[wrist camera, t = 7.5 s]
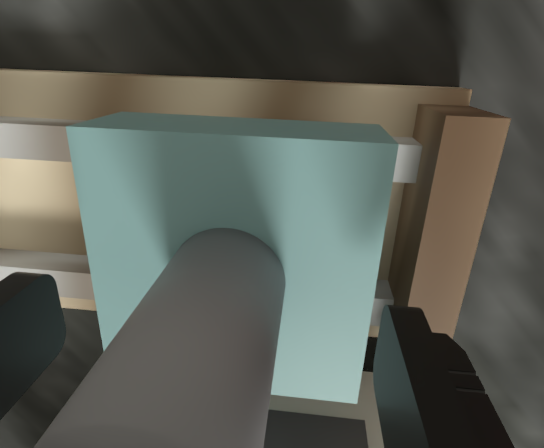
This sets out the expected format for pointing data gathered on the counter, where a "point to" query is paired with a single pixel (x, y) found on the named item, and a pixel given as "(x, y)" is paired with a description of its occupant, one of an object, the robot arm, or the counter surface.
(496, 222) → the counter surface
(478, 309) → the counter surface
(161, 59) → the counter surface
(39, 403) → the counter surface
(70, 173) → the rail track
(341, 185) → the carriage
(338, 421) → the cabinet
